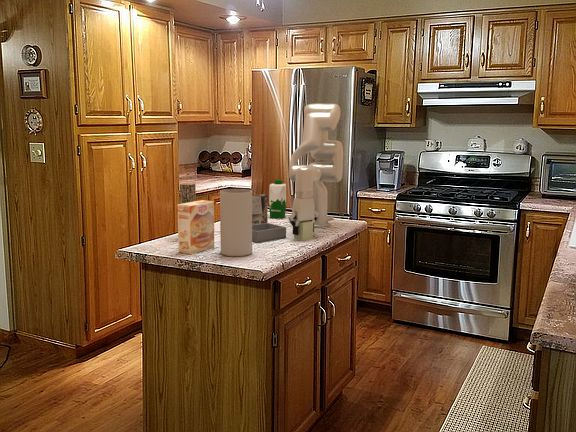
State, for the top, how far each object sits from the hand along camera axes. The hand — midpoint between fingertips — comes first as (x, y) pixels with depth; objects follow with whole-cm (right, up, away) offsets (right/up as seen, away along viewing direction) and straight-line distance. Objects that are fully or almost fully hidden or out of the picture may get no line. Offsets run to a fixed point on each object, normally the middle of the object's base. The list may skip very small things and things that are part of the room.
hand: (303, 233), depth 254 cm
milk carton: (-13, +7, +54) cm, 56 cm away
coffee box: (-21, +2, +26) cm, 33 cm away
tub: (-18, -2, +2) cm, 19 cm away
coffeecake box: (-44, -6, -22) cm, 50 cm away
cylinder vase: (-27, -7, -27) cm, 39 cm away
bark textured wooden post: (-51, -2, 0) cm, 51 cm away
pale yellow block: (0, -3, +1) cm, 3 cm away
